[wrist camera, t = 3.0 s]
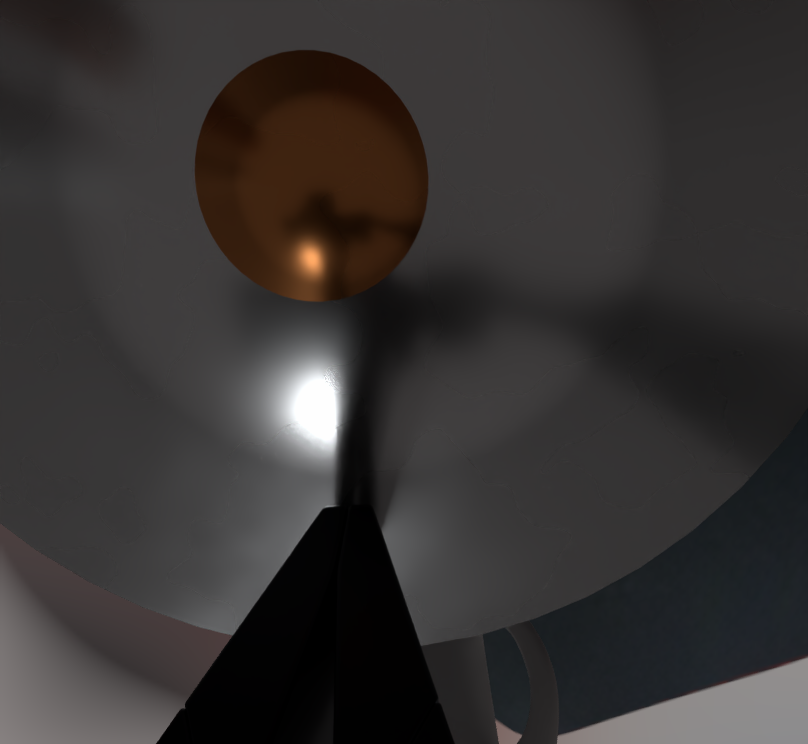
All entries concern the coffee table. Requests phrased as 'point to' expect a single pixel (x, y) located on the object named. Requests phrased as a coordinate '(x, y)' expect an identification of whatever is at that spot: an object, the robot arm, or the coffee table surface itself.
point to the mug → (471, 695)
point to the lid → (395, 287)
